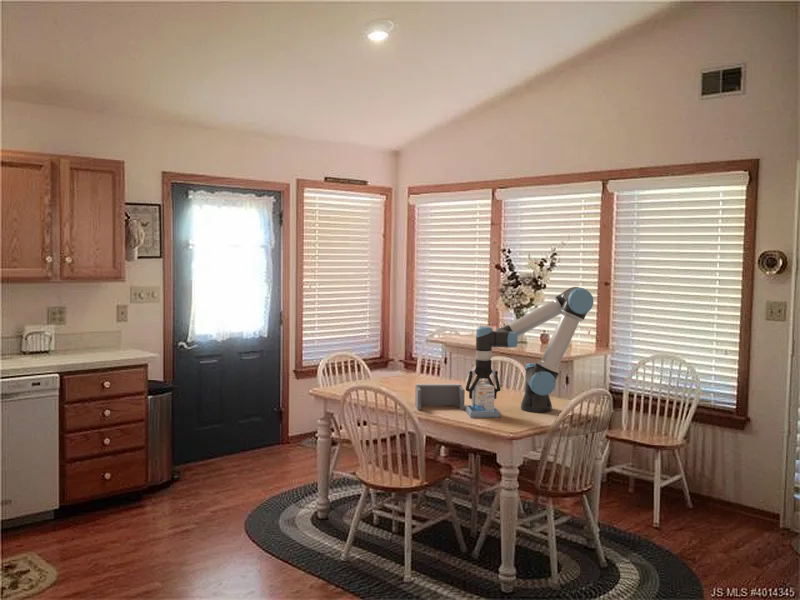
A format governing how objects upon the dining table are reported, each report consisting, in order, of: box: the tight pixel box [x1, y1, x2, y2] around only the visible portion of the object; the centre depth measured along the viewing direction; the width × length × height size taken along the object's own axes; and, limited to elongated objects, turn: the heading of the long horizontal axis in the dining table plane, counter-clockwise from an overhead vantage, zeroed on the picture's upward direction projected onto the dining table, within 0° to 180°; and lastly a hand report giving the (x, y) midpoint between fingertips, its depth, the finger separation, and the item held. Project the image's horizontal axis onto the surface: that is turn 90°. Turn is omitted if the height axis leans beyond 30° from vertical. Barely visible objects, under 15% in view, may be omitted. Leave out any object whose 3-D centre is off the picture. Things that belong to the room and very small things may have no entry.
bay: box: [414, 383, 466, 411], centre depth 354 cm, size 23×13×11 cm, turn 94°
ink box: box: [471, 380, 495, 411], centre depth 341 cm, size 9×8×13 cm
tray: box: [464, 404, 501, 419], centre depth 342 cm, size 14×15×3 cm
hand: (482, 405), depth 342 cm, fingers closed on ink box, 9 cm apart
